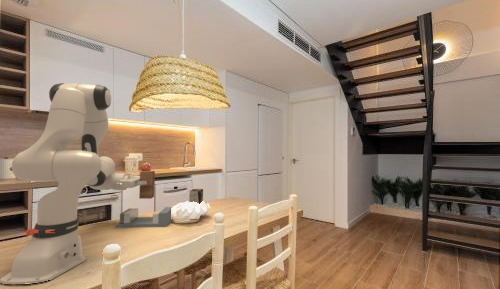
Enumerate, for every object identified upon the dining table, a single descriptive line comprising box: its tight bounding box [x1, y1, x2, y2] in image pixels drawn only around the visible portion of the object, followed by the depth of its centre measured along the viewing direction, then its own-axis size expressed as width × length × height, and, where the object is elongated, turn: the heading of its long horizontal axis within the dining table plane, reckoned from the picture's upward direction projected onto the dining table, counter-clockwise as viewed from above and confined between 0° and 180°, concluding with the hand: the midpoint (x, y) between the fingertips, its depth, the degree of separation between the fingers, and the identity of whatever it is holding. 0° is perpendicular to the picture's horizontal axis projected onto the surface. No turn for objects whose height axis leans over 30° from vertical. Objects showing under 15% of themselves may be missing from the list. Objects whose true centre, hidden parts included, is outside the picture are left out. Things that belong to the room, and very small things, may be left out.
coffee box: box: [188, 188, 204, 204], centre depth 145 cm, size 9×6×16 cm
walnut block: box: [138, 170, 156, 200], centre depth 133 cm, size 5×6×14 cm
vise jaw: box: [119, 207, 139, 223], centre depth 132 cm, size 11×5×5 cm, turn 4°
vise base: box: [115, 206, 173, 228], centre depth 132 cm, size 13×25×7 cm, turn 94°
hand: (149, 181), depth 133 cm, fingers closed on walnut block, 5 cm apart
